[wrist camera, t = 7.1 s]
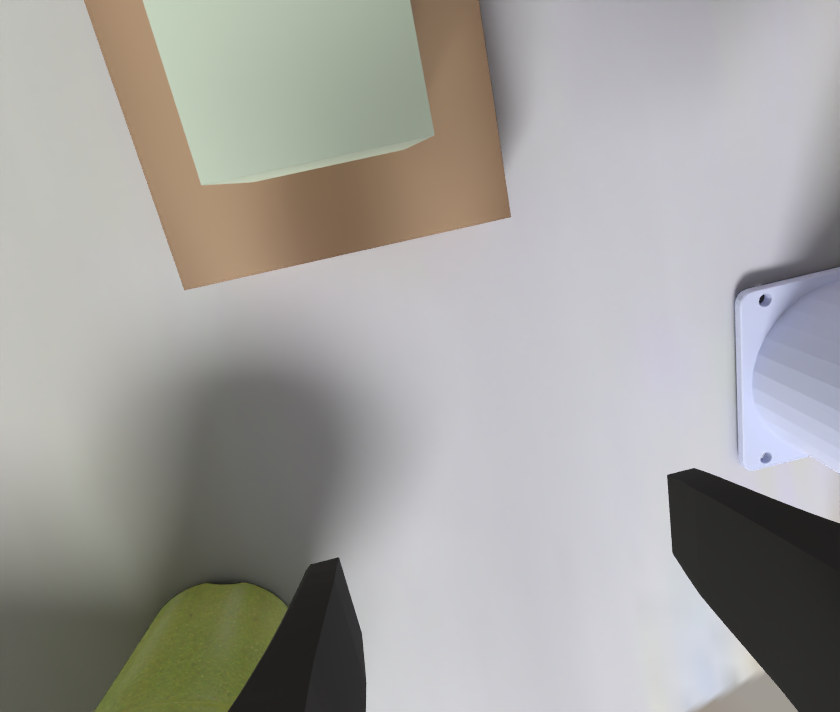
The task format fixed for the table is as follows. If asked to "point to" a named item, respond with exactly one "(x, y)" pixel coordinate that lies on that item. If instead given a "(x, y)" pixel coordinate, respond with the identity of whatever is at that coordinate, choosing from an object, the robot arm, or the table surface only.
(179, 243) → the walnut slab
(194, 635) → the plant pot
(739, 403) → the robot arm
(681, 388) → the table surface
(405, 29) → the sage block
